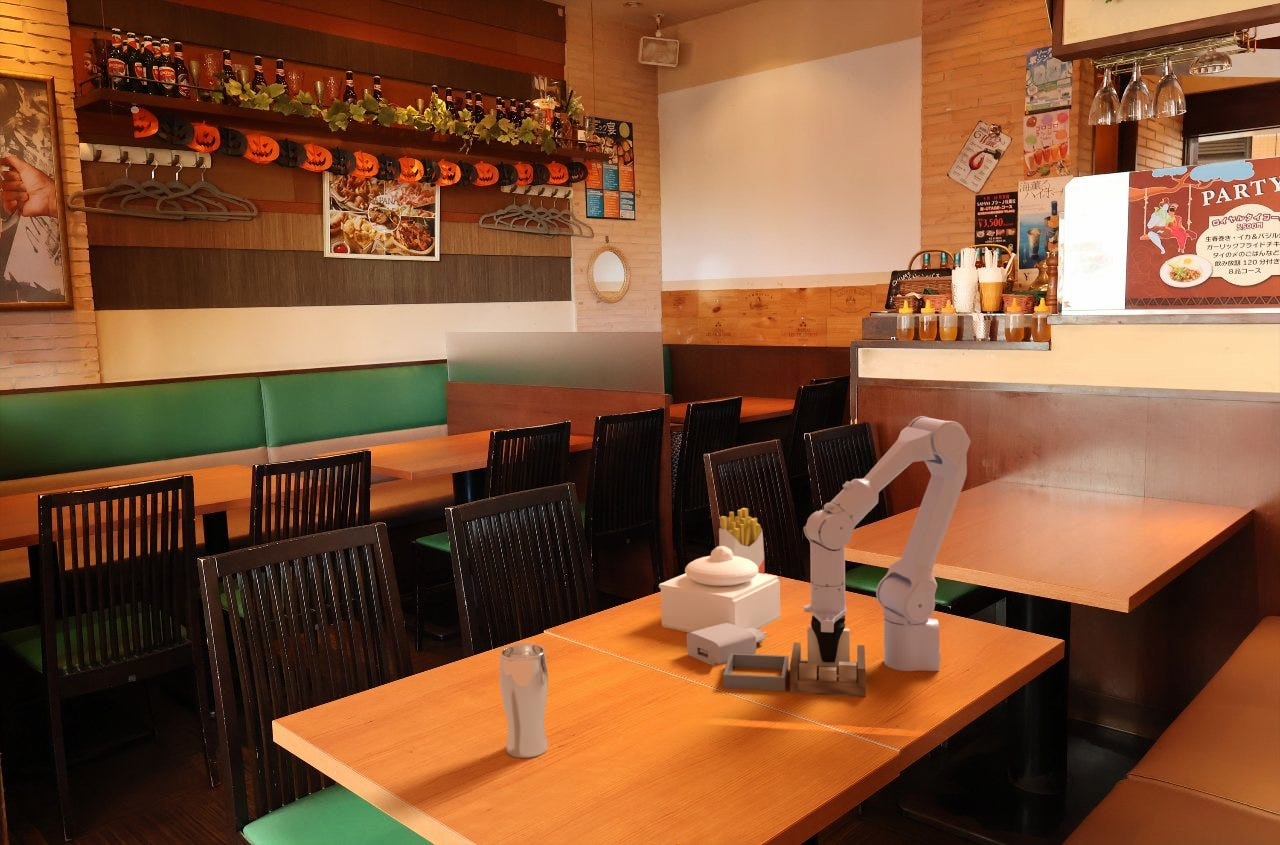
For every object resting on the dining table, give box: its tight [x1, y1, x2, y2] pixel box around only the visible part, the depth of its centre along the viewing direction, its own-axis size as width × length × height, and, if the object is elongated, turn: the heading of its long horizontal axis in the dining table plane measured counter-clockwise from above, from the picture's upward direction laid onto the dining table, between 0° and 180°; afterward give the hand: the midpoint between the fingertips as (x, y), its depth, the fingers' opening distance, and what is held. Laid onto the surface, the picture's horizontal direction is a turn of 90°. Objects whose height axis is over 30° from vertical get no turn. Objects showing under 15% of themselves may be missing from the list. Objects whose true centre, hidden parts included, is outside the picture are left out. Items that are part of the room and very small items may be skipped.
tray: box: [722, 653, 790, 692], centre depth 165 cm, size 10×10×3 cm
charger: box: [686, 623, 768, 667], centre depth 180 cm, size 5×9×15 cm
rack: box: [789, 642, 867, 698], centre depth 163 cm, size 12×12×5 cm
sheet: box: [806, 626, 851, 667], centre depth 165 cm, size 7×1×8 cm, turn 78°
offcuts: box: [799, 661, 857, 682], centre depth 159 cm, size 9×2×4 cm, turn 78°
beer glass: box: [499, 642, 549, 759], centre depth 142 cm, size 7×7×15 cm
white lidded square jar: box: [658, 545, 781, 633], centre depth 197 cm, size 18×18×16 cm
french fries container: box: [718, 507, 766, 574], centre depth 219 cm, size 5×11×18 cm, turn 135°
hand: (828, 659), depth 166 cm, fingers closed on sheet, 1 cm apart
